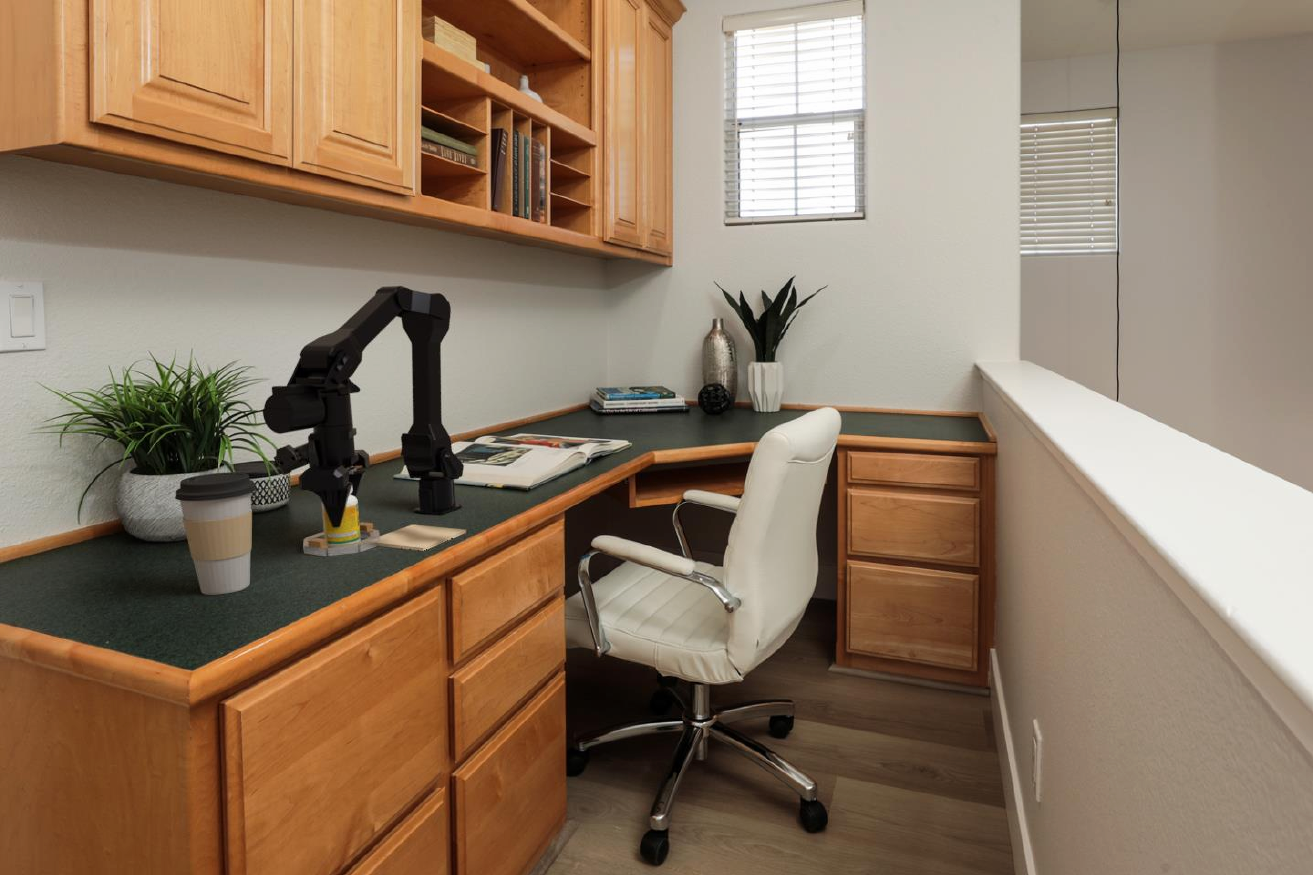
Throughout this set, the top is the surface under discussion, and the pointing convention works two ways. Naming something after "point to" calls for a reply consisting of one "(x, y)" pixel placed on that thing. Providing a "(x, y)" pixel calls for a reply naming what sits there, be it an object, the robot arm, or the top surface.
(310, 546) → the grey octagonal ring
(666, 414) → the top surface
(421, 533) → the coaster
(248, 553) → the coffee cup
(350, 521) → the supplement bottle
